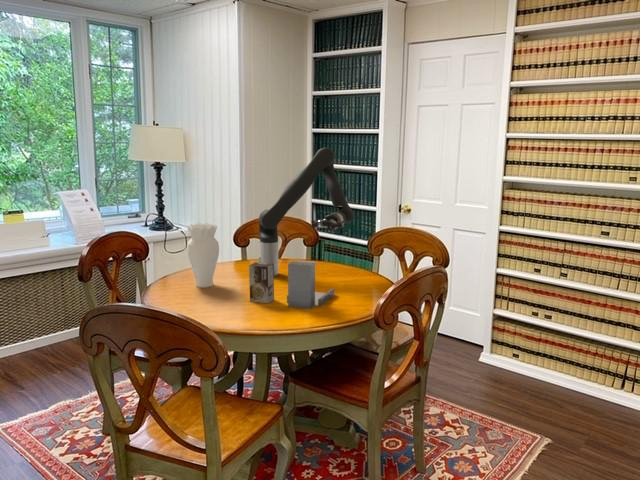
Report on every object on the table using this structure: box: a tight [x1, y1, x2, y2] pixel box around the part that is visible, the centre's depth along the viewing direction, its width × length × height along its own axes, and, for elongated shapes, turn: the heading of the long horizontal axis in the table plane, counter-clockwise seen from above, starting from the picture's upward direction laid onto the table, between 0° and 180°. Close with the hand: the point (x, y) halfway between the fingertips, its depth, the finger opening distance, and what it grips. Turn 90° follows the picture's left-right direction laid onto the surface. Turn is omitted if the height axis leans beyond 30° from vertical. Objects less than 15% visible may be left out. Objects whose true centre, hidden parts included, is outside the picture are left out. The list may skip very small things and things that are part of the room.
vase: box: [186, 222, 220, 288], centre depth 253 cm, size 15×15×29 cm
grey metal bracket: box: [286, 260, 335, 310], centre depth 231 cm, size 15×23×18 cm
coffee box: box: [248, 261, 275, 304], centre depth 231 cm, size 9×6×16 cm
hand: (322, 226), depth 243 cm, fingers open, 8 cm apart
